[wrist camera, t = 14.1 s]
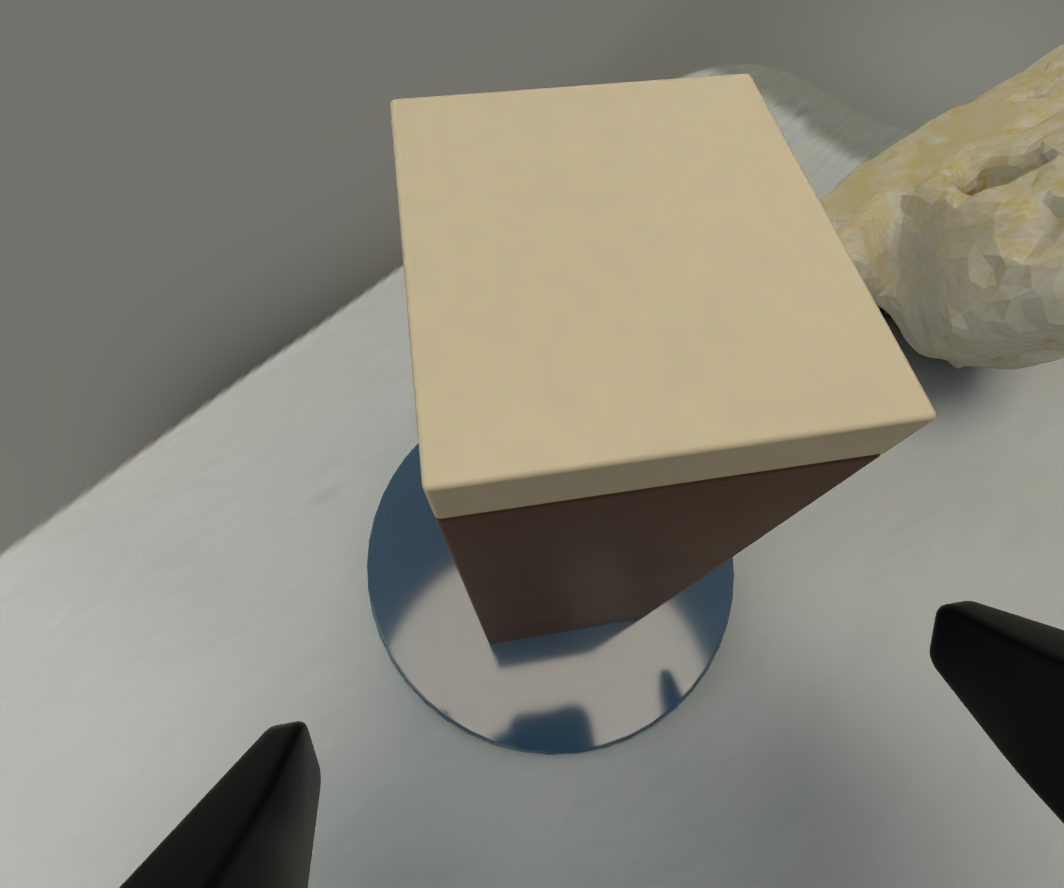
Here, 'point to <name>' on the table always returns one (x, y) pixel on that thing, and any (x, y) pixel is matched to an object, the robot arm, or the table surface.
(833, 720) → the table surface
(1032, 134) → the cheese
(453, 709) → the plate
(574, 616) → the tan and brown block
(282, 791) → the robot arm
